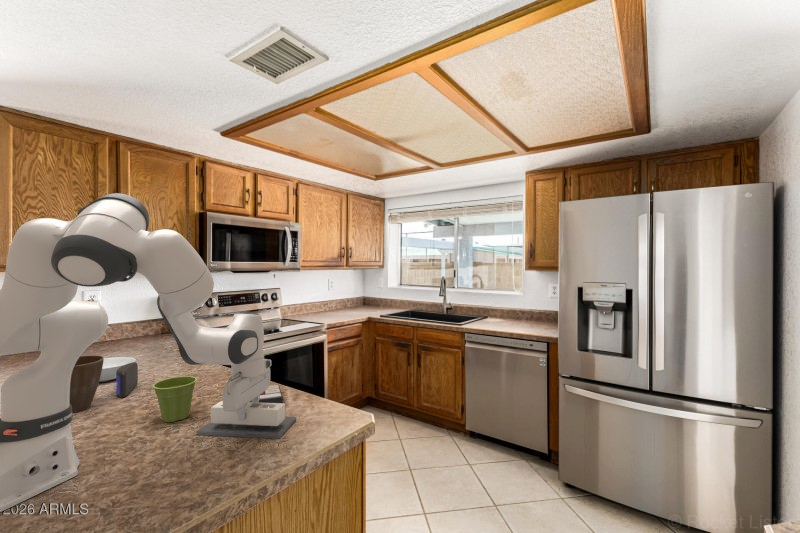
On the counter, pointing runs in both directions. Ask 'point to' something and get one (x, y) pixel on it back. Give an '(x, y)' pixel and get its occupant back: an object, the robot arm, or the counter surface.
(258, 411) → the power strip
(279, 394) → the calculator
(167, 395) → the plant pot
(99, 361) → the plant pot
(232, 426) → the mounting plate
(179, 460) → the counter surface
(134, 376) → the dark grey slab
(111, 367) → the serving bowl
